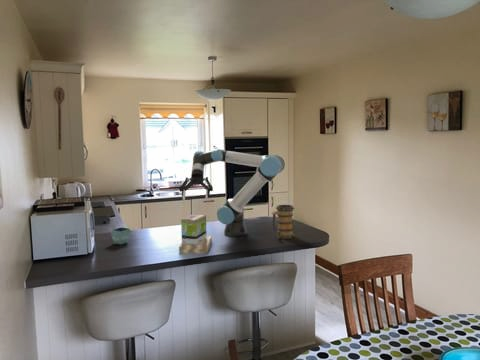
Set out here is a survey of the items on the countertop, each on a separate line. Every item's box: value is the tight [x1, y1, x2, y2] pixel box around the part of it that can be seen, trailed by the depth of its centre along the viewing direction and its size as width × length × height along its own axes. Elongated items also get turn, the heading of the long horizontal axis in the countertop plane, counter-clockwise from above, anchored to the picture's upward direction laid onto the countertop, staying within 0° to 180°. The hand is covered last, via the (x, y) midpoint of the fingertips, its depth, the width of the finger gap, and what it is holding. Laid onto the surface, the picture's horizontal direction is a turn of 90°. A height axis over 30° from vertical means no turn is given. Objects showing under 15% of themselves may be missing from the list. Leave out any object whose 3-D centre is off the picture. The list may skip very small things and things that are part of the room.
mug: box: [271, 204, 296, 240], centre depth 239 cm, size 13×17×20 cm
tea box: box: [180, 214, 207, 245], centre depth 219 cm, size 15×10×15 cm, turn 164°
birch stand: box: [178, 235, 213, 254], centre depth 221 cm, size 16×22×4 cm
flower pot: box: [110, 226, 131, 245], centre depth 233 cm, size 9×9×9 cm
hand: (194, 200), depth 219 cm, fingers open, 13 cm apart
